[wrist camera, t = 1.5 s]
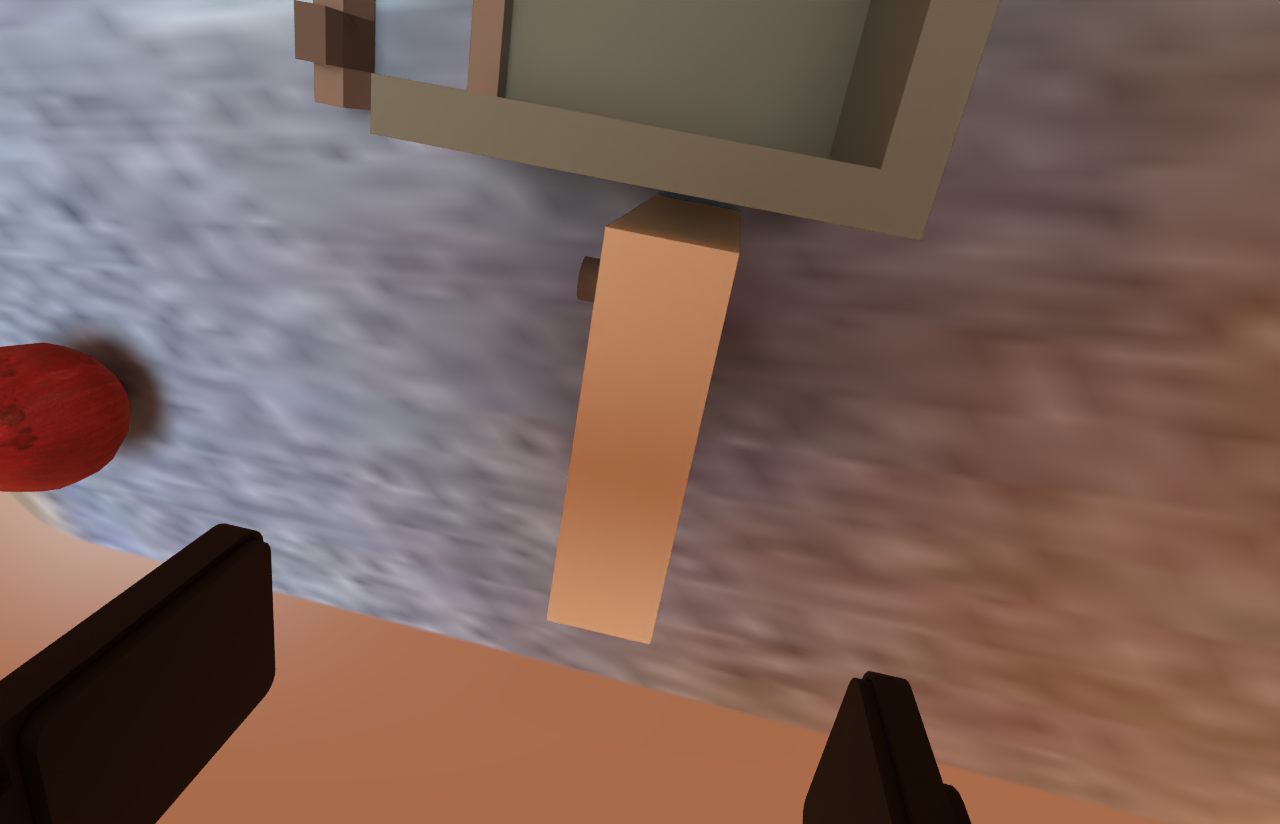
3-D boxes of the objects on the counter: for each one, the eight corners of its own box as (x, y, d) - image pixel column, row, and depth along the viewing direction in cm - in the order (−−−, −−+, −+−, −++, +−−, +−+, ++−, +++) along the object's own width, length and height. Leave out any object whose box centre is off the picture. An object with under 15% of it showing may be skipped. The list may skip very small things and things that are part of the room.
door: (739, 210, 24) (739, 253, 15) (679, 480, 28) (649, 644, 19) (629, 189, 24) (561, 218, 15) (586, 459, 28) (512, 612, 19)
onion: (51, 305, 29) (-181, 360, 22) (177, 348, 29) (-14, 418, 22) (57, 422, 31) (-151, 507, 24) (174, 462, 31) (0, 560, 24)
